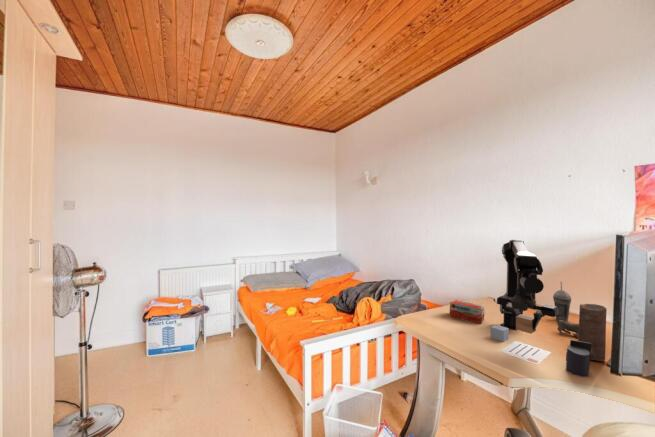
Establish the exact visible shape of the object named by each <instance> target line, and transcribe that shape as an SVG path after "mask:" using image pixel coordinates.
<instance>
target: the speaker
mask: <svg viewBox="0 0 655 437" xmlns="http://www.w3.org/2000/svg"><path fill="white" fill-rule="evenodd" d="M590 353H591V343H588V342H582V341H578V340H575V339H570V342H569V345H567V346H566V353H565V364H566V365H565V370H566V372H568V373H570V374H572V375H575V376H578V377H582V378H585V377H589V372H590V364H591V360H590Z"/></svg>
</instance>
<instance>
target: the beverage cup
mask: <svg viewBox="0 0 655 437" xmlns="http://www.w3.org/2000/svg"><path fill="white" fill-rule="evenodd" d="M552 298H553V302H554V303H553V304H554V306H556V307H557V308H558V309H559V315H557V316H556V317H555V320H556V321H557V322H558V320H557V318H558V317H562V318H564V319H565V322H567V323H569V322H568V321H569V316H570V308H571V307H570V306H571V304H572V303H571V302H572V297H571V295H570V294H569V293H568V292H567V291H565V290H563V282H562V281H560V290H556V291H555V292H554V293H553V296H552ZM562 318H559V320H563V319H562Z"/></svg>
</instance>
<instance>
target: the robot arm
mask: <svg viewBox="0 0 655 437" xmlns="http://www.w3.org/2000/svg"><path fill="white" fill-rule="evenodd" d="M501 254H502V255H503V256H502V257H503V259H504V260H505V261H506V290H505V291H506V292H505V293H504V295H500V296H498V297H497V299H496V304H497V305H499V312H500V313H501V314H502V315H503V322H502V323H501V324H500V326H503V327H506V328H509V329H512V330H515V331H516V330H517V329H516V316H518V315H520V314H523V315H524V312H525V311H528V309H530V310H534V311H535V312H533V317H534V322H533V330H535V329H536V330H537V326H538V325H539V323H540V321H541V320H542V318H544V317H546V316H547V317H550V318H556V316H557V315H559V309H558V308H557V307H556V306H555V305H551V304H543V305H537V300H536V294H540V293H541V292H542V291H543V290H544V287H545V286H544V283H543V281H542V280H541V279H540V278H538V276H543V272H544V269H543V265H542V263H541V261H540V258H538V256H537V255H536V254H534V253H532V252H529V250H528V249H527V247H526V245H525V242H524V240H522V239H511V240H509V241H508V242H506V243H503V245H502V248H501Z"/></svg>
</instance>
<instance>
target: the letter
mask: <svg viewBox="0 0 655 437" xmlns="http://www.w3.org/2000/svg"><path fill="white" fill-rule="evenodd" d="M499 352H500V353H503V354H506V355H509V356H512V357H515V358H518V359H520V360H522V361H526V362H528V363H530V364H533V365H536V366H538V365H539V364H540V363H541V362H543V360H545V359H546V358H547V357H548V356H550V355H551V354H552V351H548V350H545V349H542V348H540V347H536V346H533V345H531V344H530V345H529V344H526V343H525V342H520V341H518V340H515V341H513V342H512V343H510V344H509V345H507V346H505V347H504V348H502V349H501V350H499Z"/></svg>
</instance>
